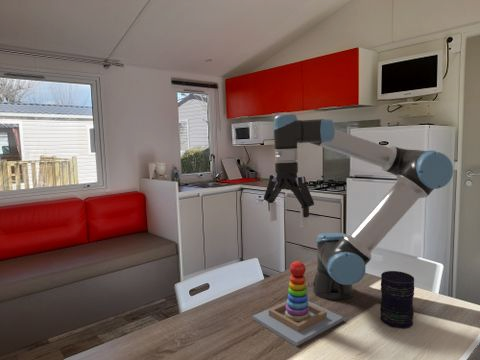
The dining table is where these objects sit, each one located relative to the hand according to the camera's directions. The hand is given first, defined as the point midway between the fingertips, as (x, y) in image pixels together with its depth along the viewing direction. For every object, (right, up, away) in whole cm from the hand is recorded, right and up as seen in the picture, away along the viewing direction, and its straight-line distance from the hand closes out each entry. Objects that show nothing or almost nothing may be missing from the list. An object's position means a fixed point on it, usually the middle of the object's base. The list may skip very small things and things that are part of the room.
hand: (288, 223), depth 119 cm
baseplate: (+3, -32, -4) cm, 32 cm away
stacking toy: (+3, -31, -4) cm, 31 cm away
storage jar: (+34, -31, -6) cm, 47 cm away
